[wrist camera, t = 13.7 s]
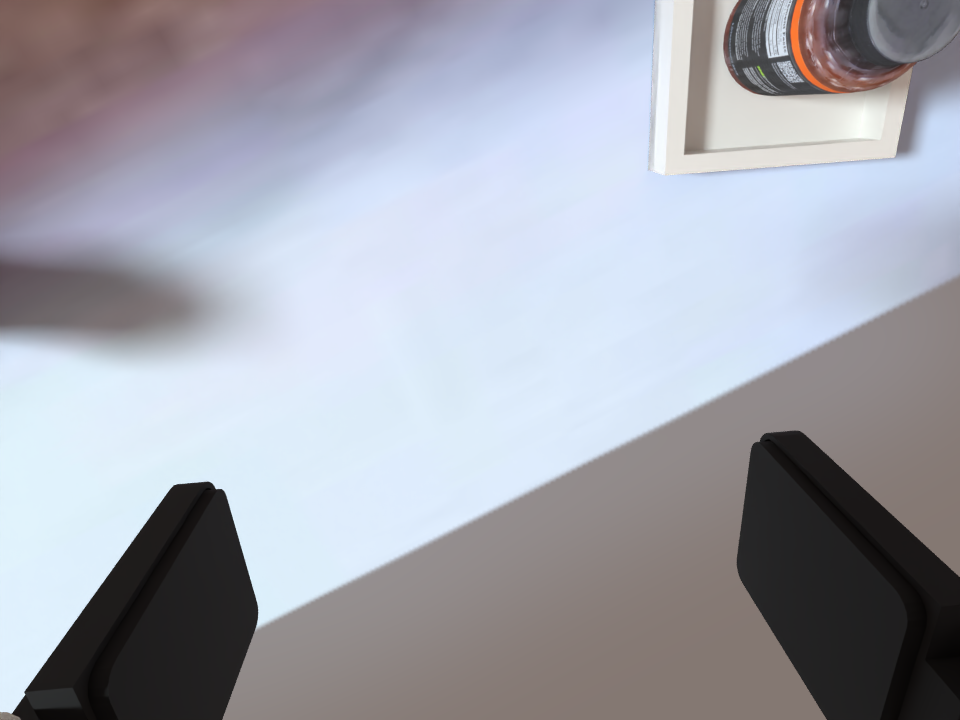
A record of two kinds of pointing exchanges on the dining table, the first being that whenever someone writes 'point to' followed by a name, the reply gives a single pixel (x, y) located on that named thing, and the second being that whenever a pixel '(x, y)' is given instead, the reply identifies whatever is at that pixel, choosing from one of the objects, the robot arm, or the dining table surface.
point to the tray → (751, 106)
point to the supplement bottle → (833, 42)
